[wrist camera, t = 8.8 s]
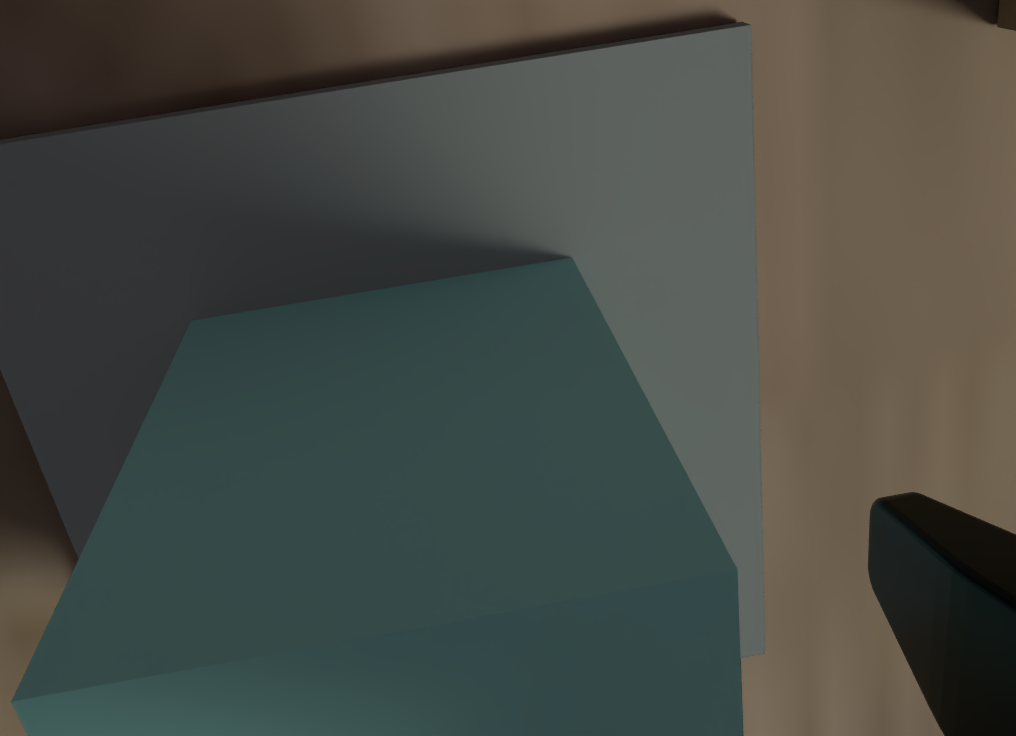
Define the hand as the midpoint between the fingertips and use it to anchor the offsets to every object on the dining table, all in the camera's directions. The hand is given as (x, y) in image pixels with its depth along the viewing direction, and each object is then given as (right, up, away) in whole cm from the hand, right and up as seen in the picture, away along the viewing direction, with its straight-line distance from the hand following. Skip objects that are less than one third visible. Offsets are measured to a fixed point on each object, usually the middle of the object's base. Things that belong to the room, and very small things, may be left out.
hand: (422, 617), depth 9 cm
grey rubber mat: (0, +1, +3) cm, 4 cm away
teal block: (0, +1, +3) cm, 3 cm away
